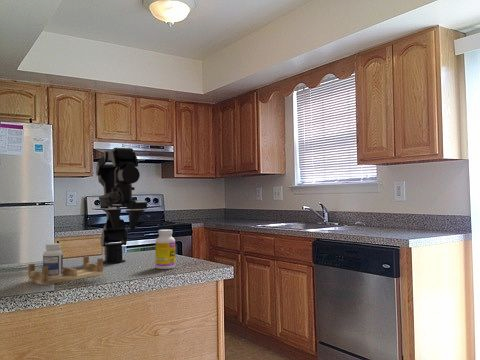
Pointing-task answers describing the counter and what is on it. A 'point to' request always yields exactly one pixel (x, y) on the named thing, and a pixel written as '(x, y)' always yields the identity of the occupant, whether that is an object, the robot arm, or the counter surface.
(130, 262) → the counter surface
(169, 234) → the supplement bottle
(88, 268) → the rack
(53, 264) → the pill bottle
